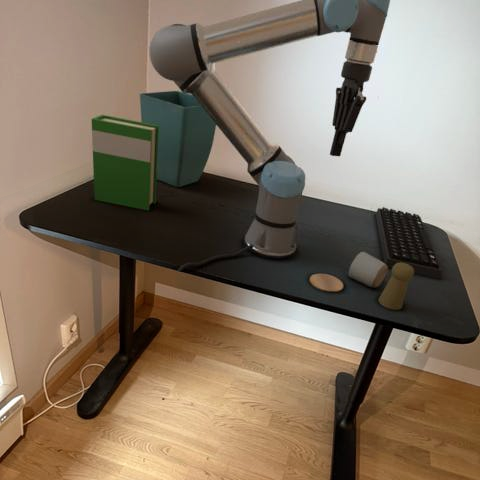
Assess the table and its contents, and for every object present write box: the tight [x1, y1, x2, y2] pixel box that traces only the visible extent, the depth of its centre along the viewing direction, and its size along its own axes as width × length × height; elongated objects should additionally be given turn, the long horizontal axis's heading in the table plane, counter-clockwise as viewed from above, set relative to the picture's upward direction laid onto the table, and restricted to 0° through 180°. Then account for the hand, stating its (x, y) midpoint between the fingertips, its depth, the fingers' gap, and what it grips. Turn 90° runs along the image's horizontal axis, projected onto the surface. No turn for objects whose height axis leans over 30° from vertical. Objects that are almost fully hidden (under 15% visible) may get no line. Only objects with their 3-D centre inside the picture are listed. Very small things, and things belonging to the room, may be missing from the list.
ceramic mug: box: [348, 251, 389, 289], centre depth 122 cm, size 11×8×8 cm
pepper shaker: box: [378, 263, 415, 311], centre depth 113 cm, size 6×6×11 cm
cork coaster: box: [309, 273, 344, 293], centre depth 119 cm, size 9×9×1 cm
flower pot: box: [139, 90, 217, 188], centre depth 161 cm, size 20×20×28 cm
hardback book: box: [91, 114, 159, 211], centre depth 139 cm, size 18×7×24 cm, turn 81°
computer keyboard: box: [375, 206, 443, 280], centre depth 150 cm, size 45×16×4 cm, turn 169°
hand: (334, 155), depth 130 cm, fingers closed
